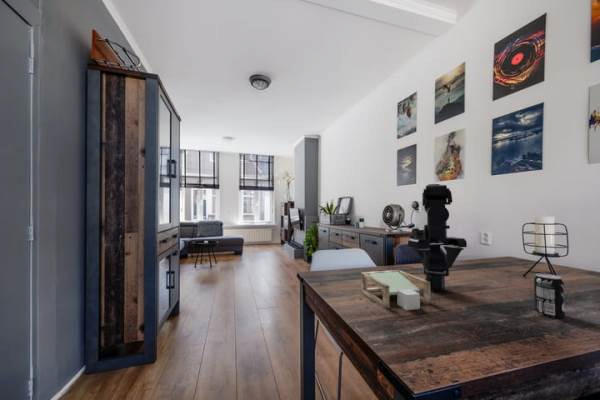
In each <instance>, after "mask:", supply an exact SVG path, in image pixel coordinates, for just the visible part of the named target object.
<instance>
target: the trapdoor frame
mask: <svg viewBox="0 0 600 400" xmlns="http://www.w3.org/2000/svg"><path fill="white" fill-rule="evenodd" d="M386 272H399V273H400V274H401V275H403V276H404V277H405V278H409V279H411V280H413V281H415V282H418V283H420V284H422V285H423V296H422V295H420V303H421V302H422V303H424V304H425V305H431V301H432V297H431V295H432V294H431V292H432V291H431V290H430V282H428V281H426V280H425V279H423V278H421V277H418V276H417V275H416V276H415V275H413V274H411V273H408V272H406V271H404V270H401V269H392V270H391V269H390V270H378V271H364V272H363V271H362V272H360V292H362V293H363V294H364V295H365V296H367V297H369V299H371V300H372V301H374V302H375V303H377V304H378V305H380V306H381V307H382V308H383V309H390V295H389V285H387V284H385V283H383V282H382V281H380V280H378V279H376V278H374V277H372V276H370V275H369V274H371V273H386ZM367 280H369V281H370V282H372V283H374V284H376V285H377V284H378V285H379V286H381V287H383V291H382V290H381V289H380V288H379V287H378V285H377V287H368V288H367ZM373 292H374V293H375V292H382V299H381V298H380V297H378V296H376V295H375V294H373Z"/></svg>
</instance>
